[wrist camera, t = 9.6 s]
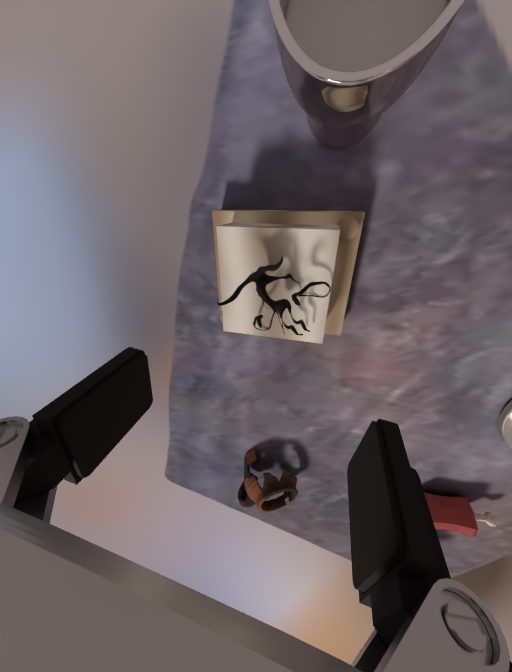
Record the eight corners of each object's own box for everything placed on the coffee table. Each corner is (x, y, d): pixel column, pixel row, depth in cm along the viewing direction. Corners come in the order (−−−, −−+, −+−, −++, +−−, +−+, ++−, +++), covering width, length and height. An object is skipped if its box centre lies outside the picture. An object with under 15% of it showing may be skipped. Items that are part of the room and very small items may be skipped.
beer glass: (336, 15, 18) (355, -459, 5) (416, 68, 18) (633, -249, 5) (285, 128, 21) (223, 26, 9) (353, 171, 22) (388, 134, 9)
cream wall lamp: (360, 211, 23) (372, 215, 17) (339, 323, 29) (342, 355, 23) (223, 209, 26) (193, 212, 20) (229, 311, 32) (207, 336, 26)
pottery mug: (259, 436, 43) (275, 484, 36) (294, 445, 48) (314, 489, 41) (220, 474, 46) (228, 525, 40) (257, 479, 51) (269, 524, 45)
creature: (343, 301, 22) (292, 228, 18) (355, 340, 18) (293, 254, 14) (273, 339, 26) (220, 284, 22) (270, 378, 21) (204, 318, 18)
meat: (493, 495, 34) (511, 539, 31) (480, 503, 38) (496, 544, 34) (397, 483, 38) (404, 521, 35) (393, 492, 41) (400, 527, 38)
